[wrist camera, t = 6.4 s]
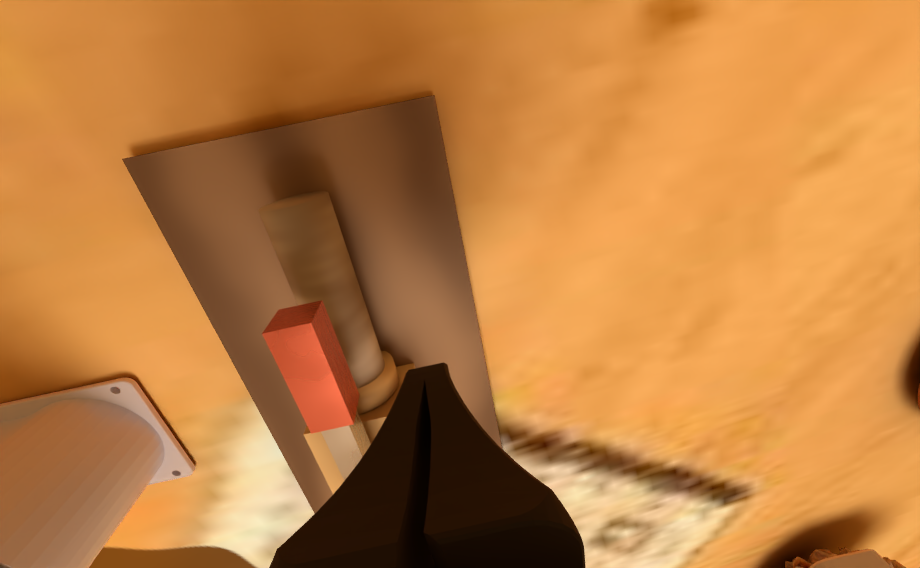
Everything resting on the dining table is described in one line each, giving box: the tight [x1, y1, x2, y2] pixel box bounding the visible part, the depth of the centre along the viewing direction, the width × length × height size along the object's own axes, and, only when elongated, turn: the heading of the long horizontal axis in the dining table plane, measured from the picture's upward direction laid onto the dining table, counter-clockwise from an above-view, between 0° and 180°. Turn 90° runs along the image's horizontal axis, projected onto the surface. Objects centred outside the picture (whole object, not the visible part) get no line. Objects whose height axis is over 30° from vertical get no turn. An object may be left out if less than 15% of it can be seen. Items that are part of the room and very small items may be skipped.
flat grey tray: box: [122, 95, 502, 513], centre depth 23 cm, size 14×34×5 cm, turn 10°
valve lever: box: [262, 300, 371, 481], centre depth 17 cm, size 11×2×2 cm, turn 11°
